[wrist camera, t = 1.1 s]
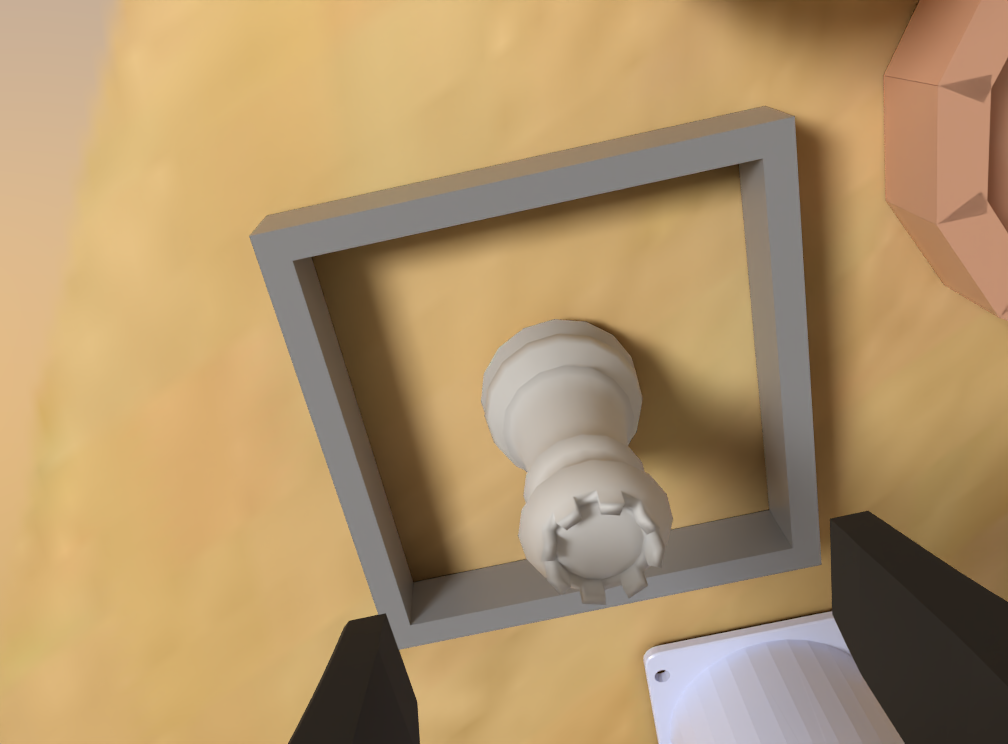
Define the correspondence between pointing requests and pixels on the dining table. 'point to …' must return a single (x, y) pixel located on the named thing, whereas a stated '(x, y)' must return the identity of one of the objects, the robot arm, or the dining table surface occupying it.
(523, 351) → the rook chess piece
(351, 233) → the grey square frame
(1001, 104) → the bowl
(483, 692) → the dining table surface
